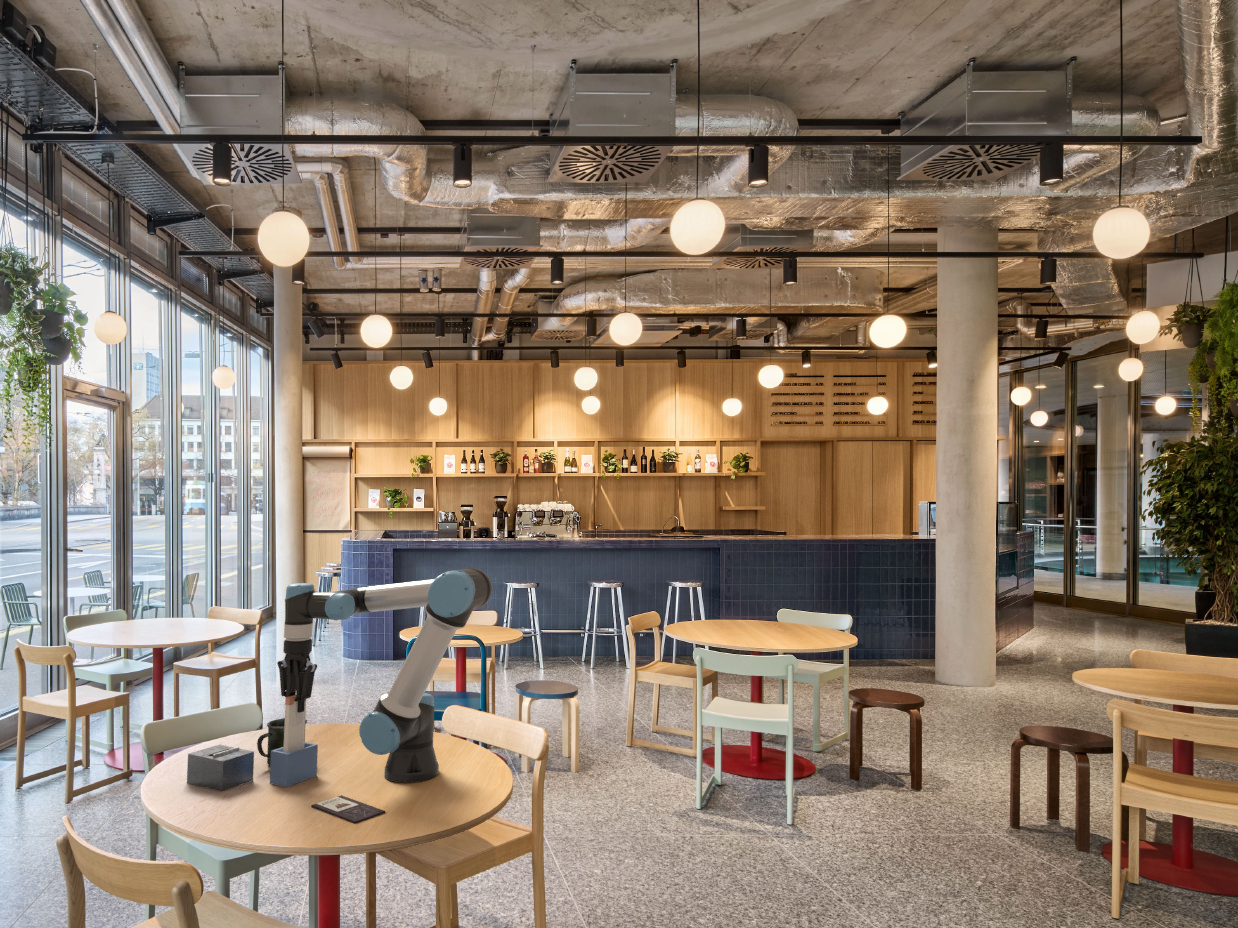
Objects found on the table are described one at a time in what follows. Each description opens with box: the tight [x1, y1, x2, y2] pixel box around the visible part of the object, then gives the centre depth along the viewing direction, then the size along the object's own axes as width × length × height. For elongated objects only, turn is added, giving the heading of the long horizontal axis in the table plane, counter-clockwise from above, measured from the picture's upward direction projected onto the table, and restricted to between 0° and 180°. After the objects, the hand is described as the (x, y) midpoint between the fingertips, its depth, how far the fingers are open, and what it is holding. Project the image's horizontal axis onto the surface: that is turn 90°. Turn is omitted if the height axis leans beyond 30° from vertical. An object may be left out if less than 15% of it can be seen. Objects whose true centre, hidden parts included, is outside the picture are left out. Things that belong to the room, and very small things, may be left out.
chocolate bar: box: [310, 795, 386, 825], centre depth 209 cm, size 9×1×18 cm
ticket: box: [283, 695, 307, 753], centre depth 232 cm, size 2×6×16 cm, turn 154°
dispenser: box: [186, 744, 255, 793], centre depth 229 cm, size 14×10×9 cm
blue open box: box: [269, 741, 319, 788], centre depth 232 cm, size 7×11×9 cm, turn 154°
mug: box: [256, 717, 308, 767], centre depth 245 cm, size 11×15×12 cm
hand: (294, 722), depth 232 cm, fingers closed on ticket, 1 cm apart
